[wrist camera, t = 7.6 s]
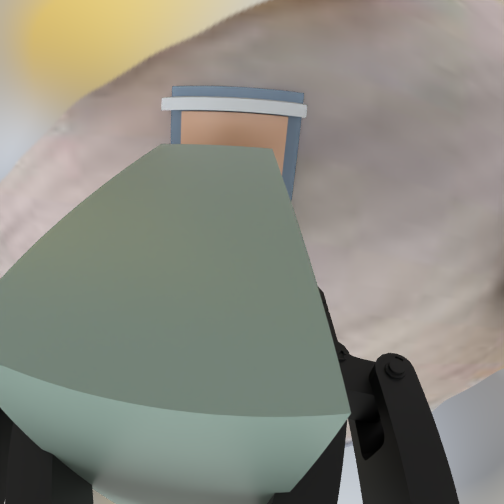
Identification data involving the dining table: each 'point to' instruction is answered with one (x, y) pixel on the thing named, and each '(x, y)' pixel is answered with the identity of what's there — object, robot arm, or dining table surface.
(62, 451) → the block
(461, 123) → the dining table surface
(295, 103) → the rail cradle
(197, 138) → the snap seat
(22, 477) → the robot arm
